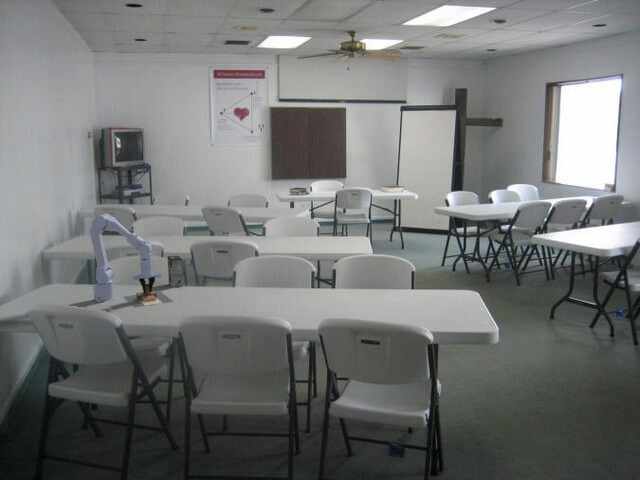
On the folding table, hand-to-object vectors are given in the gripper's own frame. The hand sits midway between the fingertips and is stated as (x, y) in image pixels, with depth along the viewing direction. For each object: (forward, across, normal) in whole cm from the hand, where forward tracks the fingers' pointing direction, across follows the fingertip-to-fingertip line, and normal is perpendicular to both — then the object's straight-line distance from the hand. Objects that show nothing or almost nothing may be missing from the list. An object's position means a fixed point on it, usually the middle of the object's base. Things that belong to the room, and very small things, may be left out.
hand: (147, 292), depth 316 cm
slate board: (+4, 0, 0) cm, 4 cm away
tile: (+4, 0, +2) cm, 4 cm away
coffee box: (+4, -21, -23) cm, 31 cm away
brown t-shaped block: (+3, 0, -3) cm, 4 cm away
